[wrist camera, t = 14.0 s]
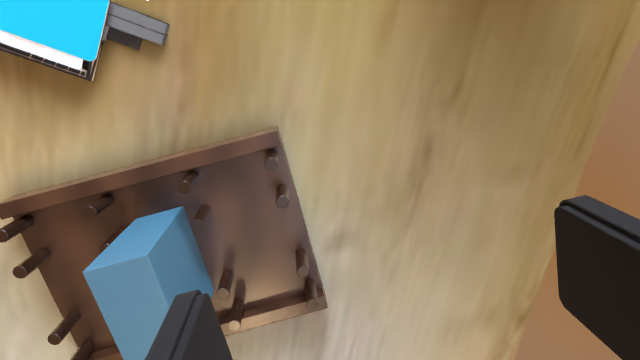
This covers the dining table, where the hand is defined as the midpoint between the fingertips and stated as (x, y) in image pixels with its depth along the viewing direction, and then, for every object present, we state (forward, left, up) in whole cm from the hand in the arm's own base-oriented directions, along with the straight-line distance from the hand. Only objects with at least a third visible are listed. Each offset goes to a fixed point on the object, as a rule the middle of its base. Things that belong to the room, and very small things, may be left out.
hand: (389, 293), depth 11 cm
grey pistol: (-17, -17, -24) cm, 34 cm away
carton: (+6, -14, -23) cm, 27 cm away
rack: (+6, -14, -24) cm, 28 cm away
